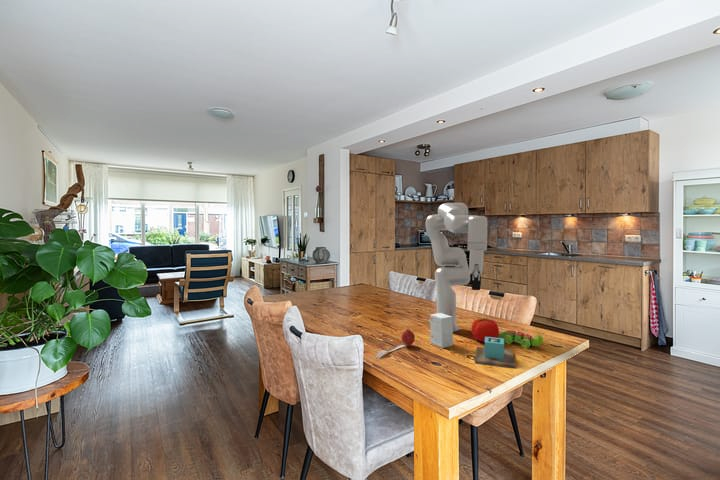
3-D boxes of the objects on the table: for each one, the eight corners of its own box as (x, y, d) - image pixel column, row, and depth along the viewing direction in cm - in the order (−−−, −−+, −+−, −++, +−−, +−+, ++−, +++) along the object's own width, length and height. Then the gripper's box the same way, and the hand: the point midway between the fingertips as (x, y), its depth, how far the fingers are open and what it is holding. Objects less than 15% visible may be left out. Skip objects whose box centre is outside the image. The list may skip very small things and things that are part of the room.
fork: (407, 352, 152) (407, 345, 152) (378, 361, 137) (378, 354, 137) (401, 350, 154) (402, 344, 154) (372, 359, 139) (373, 352, 139)
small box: (453, 345, 151) (453, 316, 151) (441, 348, 149) (441, 318, 148) (441, 340, 159) (441, 312, 158) (430, 342, 156) (429, 314, 155)
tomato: (496, 337, 161) (496, 315, 161) (501, 346, 150) (501, 322, 150) (470, 336, 164) (470, 314, 164) (472, 344, 153) (472, 321, 153)
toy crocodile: (493, 340, 158) (493, 327, 157) (500, 337, 162) (500, 324, 162) (539, 352, 143) (539, 337, 143) (545, 348, 148) (545, 333, 147)
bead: (484, 357, 135) (484, 342, 135) (485, 351, 142) (485, 336, 141) (504, 359, 133) (504, 344, 132) (503, 353, 139) (503, 338, 139)
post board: (474, 362, 132) (474, 345, 132) (476, 348, 147) (476, 332, 147) (514, 367, 127) (514, 349, 127) (512, 352, 142) (512, 336, 142)
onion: (401, 343, 155) (401, 326, 155) (414, 344, 154) (414, 326, 154) (401, 348, 149) (401, 330, 149) (415, 348, 149) (414, 330, 148)
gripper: (468, 244, 151) (468, 282, 152) (466, 248, 134) (465, 291, 136) (487, 244, 148) (486, 283, 149) (486, 248, 132) (485, 292, 133)
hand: (476, 287), depth 143 cm, fingers open, 9 cm apart
